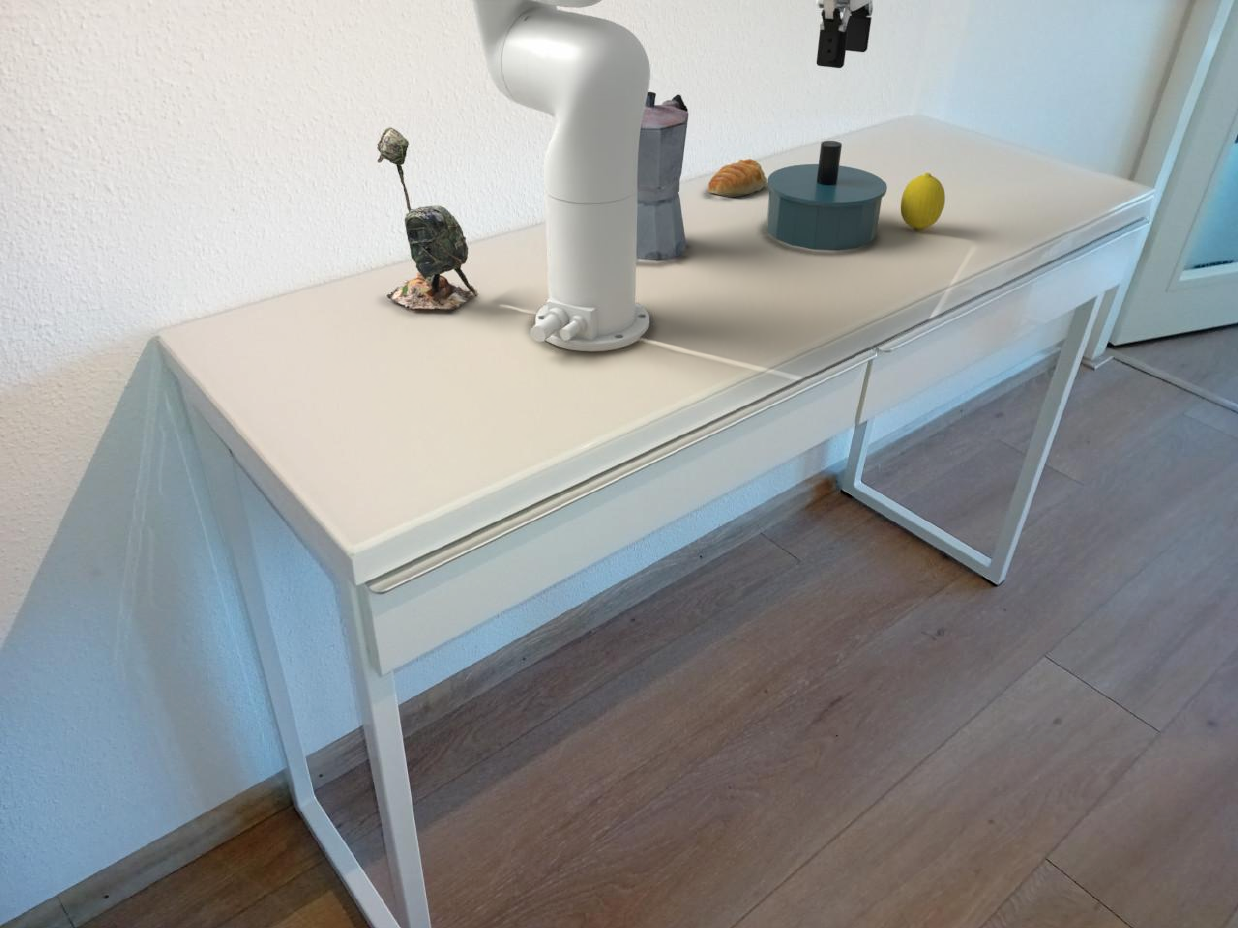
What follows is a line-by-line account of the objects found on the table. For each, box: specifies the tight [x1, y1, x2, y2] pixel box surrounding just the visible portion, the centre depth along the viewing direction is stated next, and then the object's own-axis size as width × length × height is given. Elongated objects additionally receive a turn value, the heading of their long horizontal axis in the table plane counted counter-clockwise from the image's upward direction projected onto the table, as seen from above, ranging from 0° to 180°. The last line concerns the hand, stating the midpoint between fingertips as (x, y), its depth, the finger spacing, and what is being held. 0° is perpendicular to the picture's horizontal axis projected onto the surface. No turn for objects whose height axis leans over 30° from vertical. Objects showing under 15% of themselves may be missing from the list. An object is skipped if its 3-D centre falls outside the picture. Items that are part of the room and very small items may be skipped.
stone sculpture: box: [376, 126, 479, 311], centre depth 108 cm, size 8×11×20 cm
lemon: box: [900, 172, 946, 232], centre depth 130 cm, size 6×6×8 cm
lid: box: [766, 140, 888, 207], centre depth 127 cm, size 15×15×6 cm
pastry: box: [707, 158, 768, 199], centre depth 145 cm, size 9×7×4 cm
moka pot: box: [636, 91, 689, 262], centre depth 121 cm, size 10×15×20 cm, turn 152°
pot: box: [765, 189, 883, 251], centre depth 130 cm, size 14×14×6 cm
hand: (842, 58), depth 119 cm, fingers open, 9 cm apart
